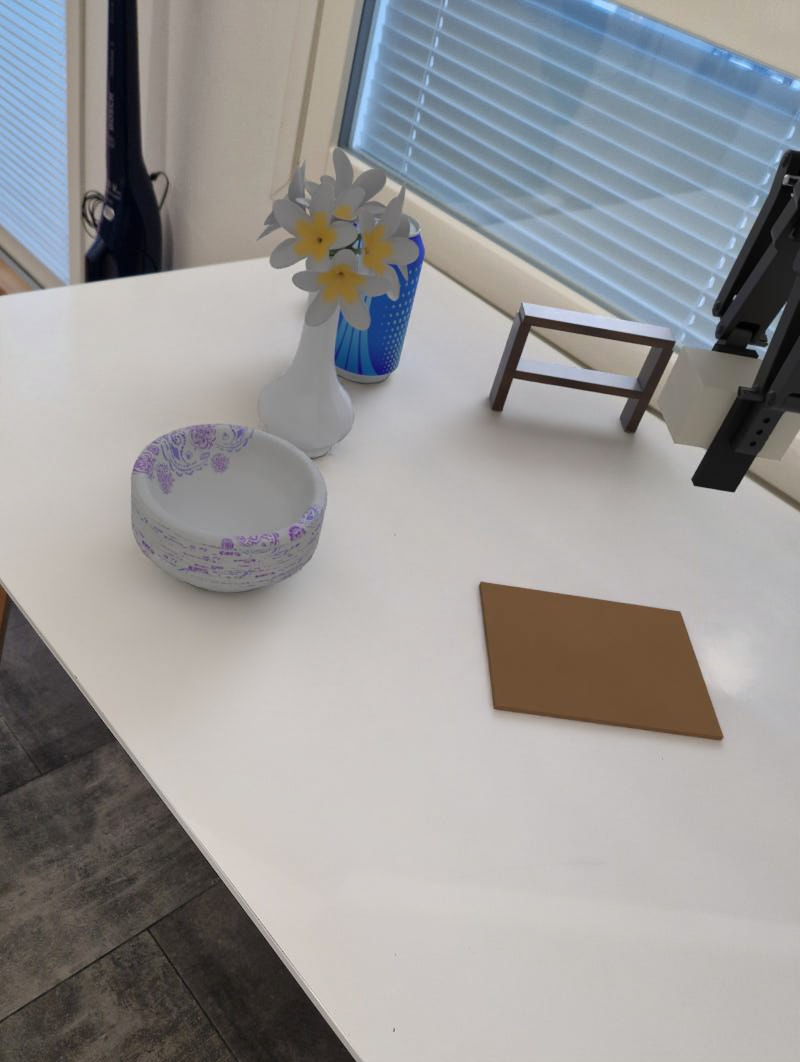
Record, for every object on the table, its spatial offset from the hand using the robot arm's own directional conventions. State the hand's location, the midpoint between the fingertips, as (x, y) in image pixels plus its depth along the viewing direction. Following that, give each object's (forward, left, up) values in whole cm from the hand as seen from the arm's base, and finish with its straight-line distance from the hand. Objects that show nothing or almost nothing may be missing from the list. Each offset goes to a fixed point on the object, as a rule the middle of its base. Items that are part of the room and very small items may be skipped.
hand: (701, 459), depth 59 cm
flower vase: (+25, -24, -20) cm, 40 cm away
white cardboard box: (0, 0, +2) cm, 2 cm away
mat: (0, 0, -19) cm, 19 cm away
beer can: (+20, -41, -20) cm, 50 cm away
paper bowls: (+31, -6, -20) cm, 37 cm away
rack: (-3, -38, -19) cm, 43 cm away
